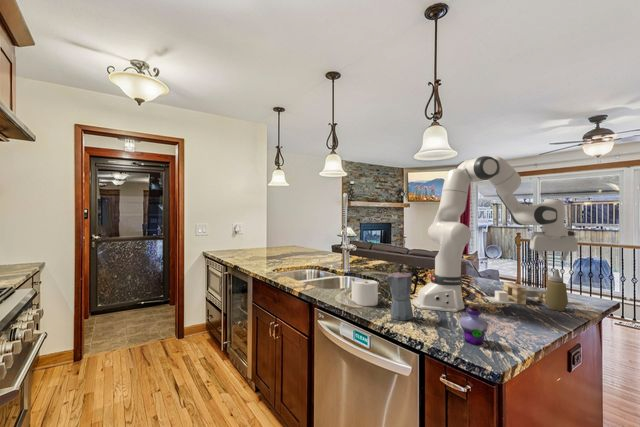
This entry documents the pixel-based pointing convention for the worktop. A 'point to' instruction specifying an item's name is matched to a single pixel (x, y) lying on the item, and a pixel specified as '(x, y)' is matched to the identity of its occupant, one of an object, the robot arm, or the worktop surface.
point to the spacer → (501, 295)
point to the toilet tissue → (365, 292)
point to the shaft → (535, 292)
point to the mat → (499, 301)
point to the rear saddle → (541, 299)
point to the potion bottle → (474, 326)
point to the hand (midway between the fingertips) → (553, 260)
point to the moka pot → (401, 294)
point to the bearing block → (515, 292)
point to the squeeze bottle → (556, 293)
